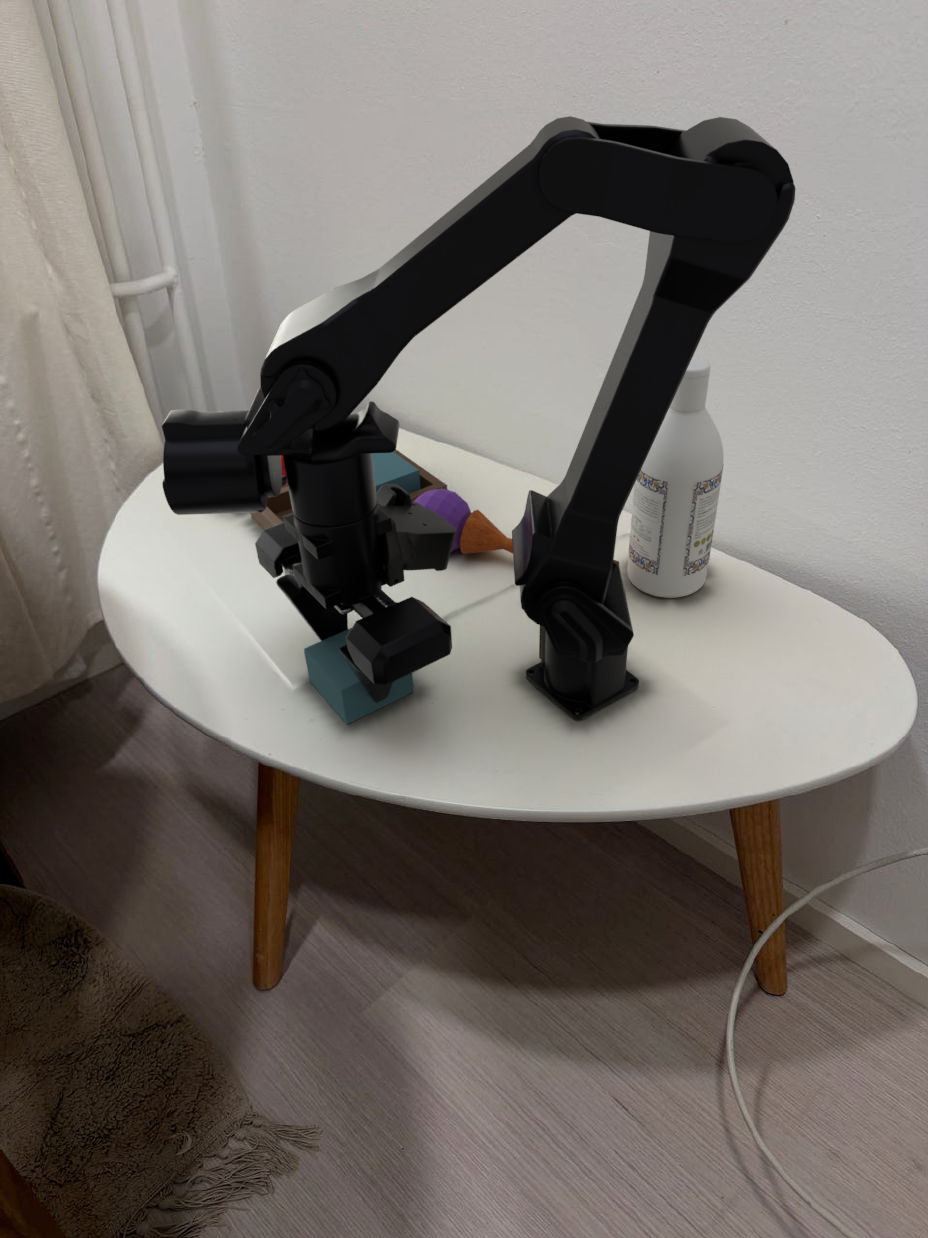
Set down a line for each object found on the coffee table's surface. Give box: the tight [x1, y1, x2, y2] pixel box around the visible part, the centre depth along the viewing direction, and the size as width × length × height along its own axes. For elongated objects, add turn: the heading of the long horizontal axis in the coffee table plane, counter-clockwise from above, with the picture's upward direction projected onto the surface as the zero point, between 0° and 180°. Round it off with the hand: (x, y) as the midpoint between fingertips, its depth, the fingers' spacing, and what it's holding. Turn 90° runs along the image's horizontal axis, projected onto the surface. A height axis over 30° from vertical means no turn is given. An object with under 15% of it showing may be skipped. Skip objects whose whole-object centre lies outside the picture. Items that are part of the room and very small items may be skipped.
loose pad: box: [303, 627, 415, 725], centre depth 71 cm, size 6×6×4 cm
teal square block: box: [372, 452, 420, 494], centre depth 93 cm, size 6×6×4 cm
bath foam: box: [626, 355, 724, 599], centre depth 76 cm, size 7×7×20 cm
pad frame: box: [250, 449, 448, 531], centre depth 92 cm, size 10×17×3 cm, turn 125°
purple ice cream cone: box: [414, 489, 620, 565], centre depth 83 cm, size 6×6×20 cm
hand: (360, 677), depth 72 cm, fingers closed on loose pad, 6 cm apart
